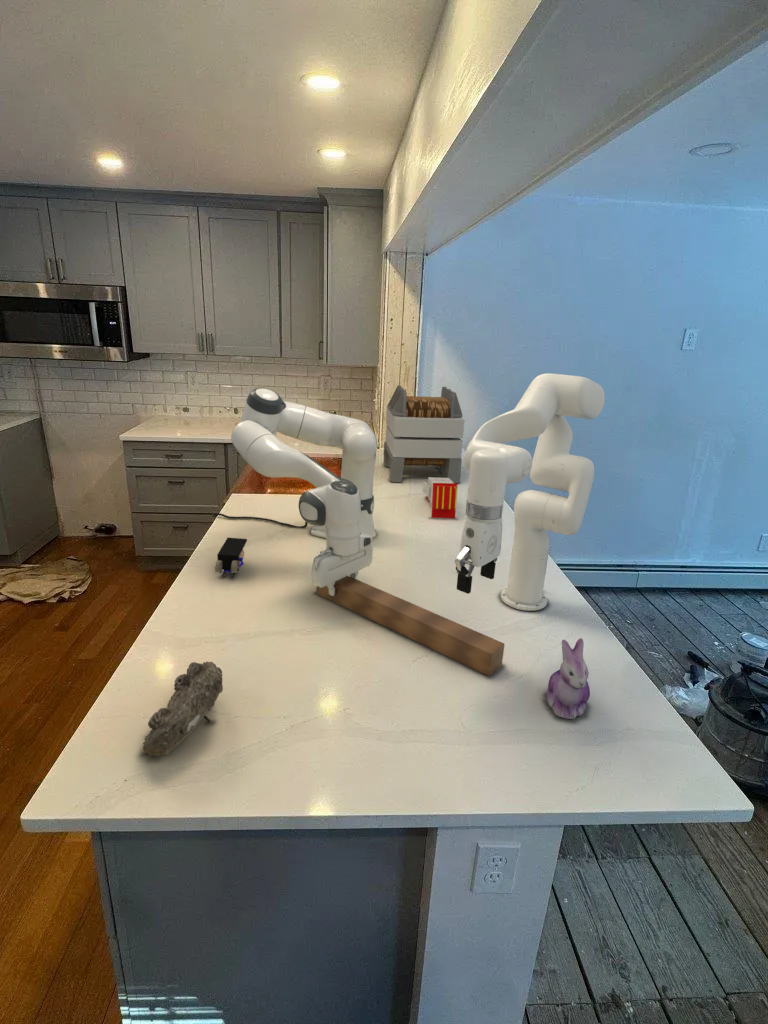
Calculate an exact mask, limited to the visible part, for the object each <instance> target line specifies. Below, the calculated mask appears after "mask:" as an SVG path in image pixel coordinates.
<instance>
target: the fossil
mask: <svg viewBox="0 0 768 1024" xmlns="http://www.w3.org/2000/svg"><path fill="white" fill-rule="evenodd" d="M173 685H174V686H173V687H174V688H173V689H174V692H173V694H172V696H171V697H170V699H169V701H168V702H167V708H166V707H161V708H159V709H158V710H157V711H156V712H154V713H153V715H152V716H151V717H150V718H149V720H148V722H147V726H148V727H149V728H150V729H151V730H150V731H149V733H148V734H147V735H145V737H144V742H142V749H143V752H144V754H146V755H149V756H150V757H156V756H161V755H162V756H163V755H166V756H167V755H169V754H170V753H171V752H172V751H173V750H174V749H175V748H176V747H177V746H179V745H180V744H181V743H182V741H183V740H184V739H186V738H187V736H189V735H190V734H191V733H192V732H194V730H195V728H196V727H197V725H198V724H199V723H200V722H201V721H202V720H205V721H206V722H207V723H211V722H212V720H211V719H210V718H209V717H208V716H207V715H206V714H207V712H209V711H211V710H212V708H213V707H214V706H215V704H216V702H217V699H218V698H219V695H220V694H221V693H222V692H223V690H224V688H223V687H224V686H223V671H222V669H221V667H219V666H217V664H216V663H214V662H213V661H204V662H202V663H200V662H195V661H193V662H190V664H189V665H188V667H187V668H186V673H183V674H179V675H178V676H177V677H176V678H175V679H174V684H173Z"/></svg>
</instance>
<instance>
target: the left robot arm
mask: <svg viewBox="0 0 768 1024" xmlns="http://www.w3.org/2000/svg"><path fill="white" fill-rule="evenodd" d="M277 433H279V434H282V435H284V436H286V437H289V438H291V439H292V438H293V439H295V440H299V441H302V442H304V443H305V442H306V443H308V444H312V445H315V446H319V447H331V448H336V449H341V450H342V453H341V468H340V476H338V475H337V474H335V473H334V472H332V471H331V470H330V469H328V468H326V467H325V466H324V465H322V464H321V463H319V462H318V461H317V460H315V459H314V458H313V457H311V456H309V455H308V454H306V453H304V452H302V451H299V450H297V449H295V448H293V447H292V446H291V445H288V444H287V443H285V442H283V441H282V440H281V439H279V438H278V437H277V436H276V435H277ZM230 437H231V438H230V439H231V443H232V446H233V447H234V448H235V450H236V451H237V453H238V454H239V455H240V456H241V458H242V459H243V460H244V461H245V462H246V463H247V464H248V466H250V467H251V469H252V470H254V471H255V472H257V474H260V475H262V476H264V477H265V478H274V479H276V478H277V479H278V478H297V479H301V480H304V481H307V483H309V484H311V485H312V486H313V487H315V488H310V489H308V490H305V491H304V492H302V494H301V495H300V496H299V500H298V512H299V515H300V517H301V519H302V520H303V521H304V525H301V526H299V525H294V524H290V523H286V522H281V521H279V520H276V519H275V520H274V519H271V518H265V517H257V516H229V515H226V514H224V513H221V512H219V513H215V514H214V515H213V518H216V517H217V516H220V517H223V518H226V519H231V520H260V521H264V522H271V523H274V524H278V525H280V526H285V527H290V528H296V529H305V528H307V527H308V524H309V525H311V526H312V528H311V530H310V533H311V536H315V537H319V538H323V539H325V549H324V550H321V551H319V552H317V554H316V556H314V558H313V561H312V565H311V573H310V582H311V584H313V585H314V586H315V587H316V586H318V587H321V588H322V587H324V586H327V587H328V588H329V594H330V595H331V596H334V595H336V594H337V588H334V586H333V585H335V581H337V580H339V579H342V578H344V577H346V576H350V577H352V578H354V579H357V578H358V575H359V571H360V570H363V569H366V568H367V567H370V566H371V564H372V562H373V554H374V553H373V551H374V549H373V545H372V544H373V542H374V538H375V537H376V535H377V532H376V528H375V523H374V513H373V512H374V509H375V496H374V476H375V475H374V474H375V466H376V460H377V450H378V449H377V448H378V440H377V437H376V434H375V433H374V432H373V430H372V428H371V427H370V425H369V424H368V423H367V422H366V421H363V420H362V419H357V418H353V417H349V416H345V415H341V414H335V413H331V412H327V411H323V410H320V409H317V408H315V407H312V406H307V405H304V404H300V403H297V402H291V401H287V400H283V398H282V397H281V396H280V394H279V393H278V392H277V391H275V390H273V389H270V388H268V387H256V388H254V389H251V390H250V391H249V394H248V396H247V398H246V403H245V405H244V408H243V411H242V414H241V418H240V422H239V423H237V424H236V425H235V426H234V428H233V429H232V431H231V434H230Z"/></svg>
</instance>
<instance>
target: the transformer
mask: <svg viewBox="0 0 768 1024" xmlns="http://www.w3.org/2000/svg"><path fill="white" fill-rule="evenodd" d="M440 393H441V394H440V396H415V395H414V396H413V395H412V396H411V395H407V394H408V393H407V390H406V389H404V388H403V387H402V385H399V384H398V385H397V386H396V388H395V390H394V392H393V394H392V395H391V398H390V400H389V402H388V404H387V405H386V413H385V414H386V415H385V423H386V428H385V438H384V442H383V466H384V467H388V468H389V475H388V476H389V477H388V478H389V480H390V482H391V483H402V482H403V475H404V469H405V466H406V467H407V466H411V467H412V466H413V467H415V466H416V467H417V466H418V467H436V468H437V470H438V469H439V473H440V474H441V475H443V478H449V479H450V480H451V481H452V482H453V483H454V484H459V483H461V472H462V461H463V460H462V453H463V442H464V441H463V440H462V439H463V438H464V431H465V430H464V429H465V419H464V418H463V411H462V408H461V405H460V402H459V398H458V395H457V392H455V391H453V390H452V389H451V388H447V386H442V387H441V392H440Z"/></svg>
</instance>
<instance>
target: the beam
mask: <svg viewBox="0 0 768 1024" xmlns="http://www.w3.org/2000/svg"><path fill="white" fill-rule="evenodd" d="M333 586H334V588H337V594H336V595H334V596H331V595H330V594H329V588H328V587H327V586H324V587H322V588H321V587H318V586H316V585H315V587H316V591H315V593H316V594H317V595H319V596H321V597H323V598H325V599H327V600H330V601H331V602H334V603H336V604H338V605H339V606H342V607H344V608H346V609H348V610H350V611H352V612H354V613H357V614H359V615H360V616H362V617H364V618H367V619H369V620H371V621H373V622H375V623H377V624H379V625H381V626H384V627H385V628H387V629H389V630H392V631H393V632H396V633H397V634H400V635H402V636H404V637H406V638H409V639H410V640H412V641H415V642H417V643H419V644H421V645H423V646H425V647H427V648H429V649H431V650H433V651H435V652H437V653H440V654H441V655H443V656H445V657H448V658H450V659H452V660H454V661H456V662H458V663H460V664H462V665H465V666H467V667H469V668H470V669H473V670H475V671H477V672H479V673H481V674H483V675H485V676H487V677H491V676H492V675H493V674H495V672H496V671H498V670H499V669H500V668H501V667H502V666H503V660H504V659H503V658H504V652H505V643H504V642H502V641H500V640H498V639H495V638H492V637H490V636H489V635H486V634H484V633H481V632H480V631H477V630H474V629H473V628H470V627H467V626H465V625H464V624H461V623H458V622H456V621H453V620H451V619H449V618H448V617H447V618H446V617H444V616H442V615H440V614H437V613H436V612H433V611H430V610H428V609H426V608H423V607H422V606H419V605H417V604H414V603H412V602H410V601H407V600H405V599H404V598H400V597H399V596H396V595H394V594H392V593H389V592H387V591H384V590H382V589H379V588H377V587H375V586H373V585H371V584H368V583H366V582H364V581H361V580H359V579H357V578H356V579H354V578H352V577H350V575H348V576H346V577H344V578H342V579H339V580H337V581H335V585H333Z"/></svg>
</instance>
